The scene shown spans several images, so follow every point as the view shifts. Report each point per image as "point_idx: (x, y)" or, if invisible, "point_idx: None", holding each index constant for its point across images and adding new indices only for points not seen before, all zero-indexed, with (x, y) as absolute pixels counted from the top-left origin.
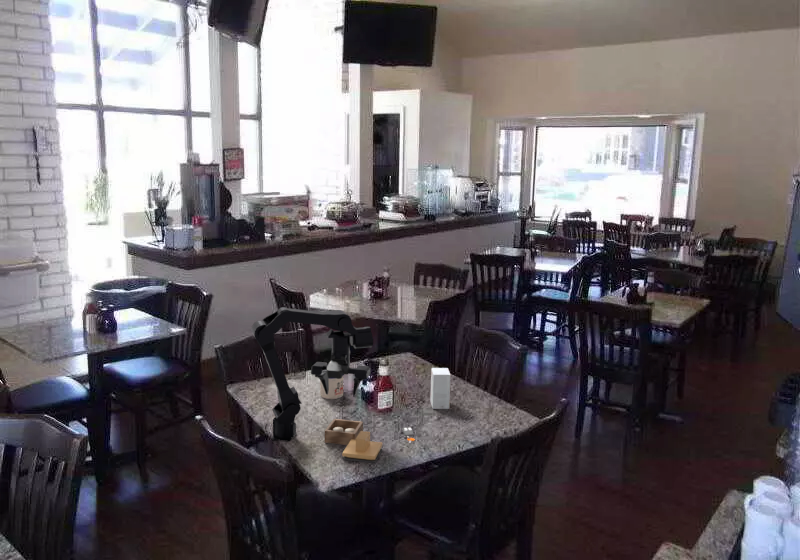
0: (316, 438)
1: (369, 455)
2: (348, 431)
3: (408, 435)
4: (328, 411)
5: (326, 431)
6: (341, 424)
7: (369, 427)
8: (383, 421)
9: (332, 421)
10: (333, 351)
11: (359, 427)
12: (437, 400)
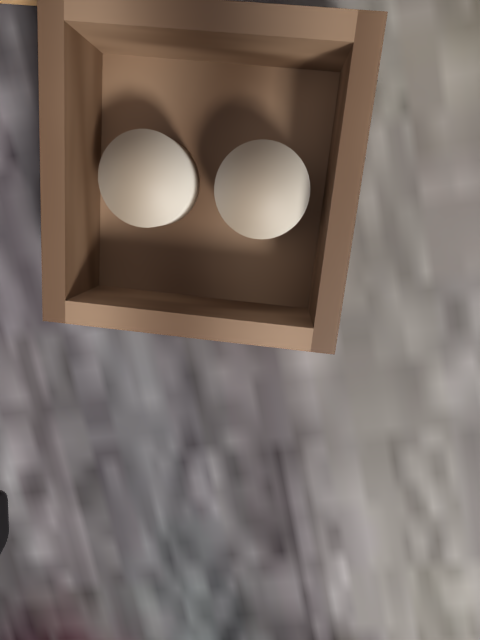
0: (445, 137)
1: None
2: (152, 146)
3: None
4: (414, 632)
5: (362, 12)
6: (253, 312)
7: (69, 402)
8: None
9: (336, 283)
10: None
11: (41, 178)
12: None
